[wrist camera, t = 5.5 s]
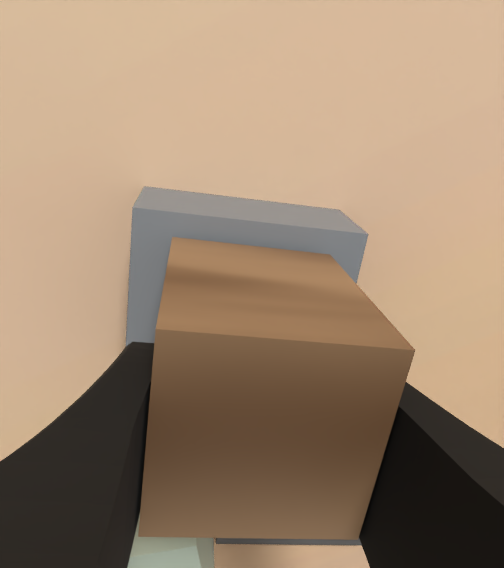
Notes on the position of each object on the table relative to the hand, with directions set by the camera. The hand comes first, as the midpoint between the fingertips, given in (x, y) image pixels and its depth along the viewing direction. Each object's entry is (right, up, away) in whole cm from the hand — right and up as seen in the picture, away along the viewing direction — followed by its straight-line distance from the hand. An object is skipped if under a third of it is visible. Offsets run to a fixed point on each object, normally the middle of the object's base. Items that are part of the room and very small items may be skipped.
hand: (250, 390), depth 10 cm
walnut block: (0, +1, +2) cm, 3 cm away
